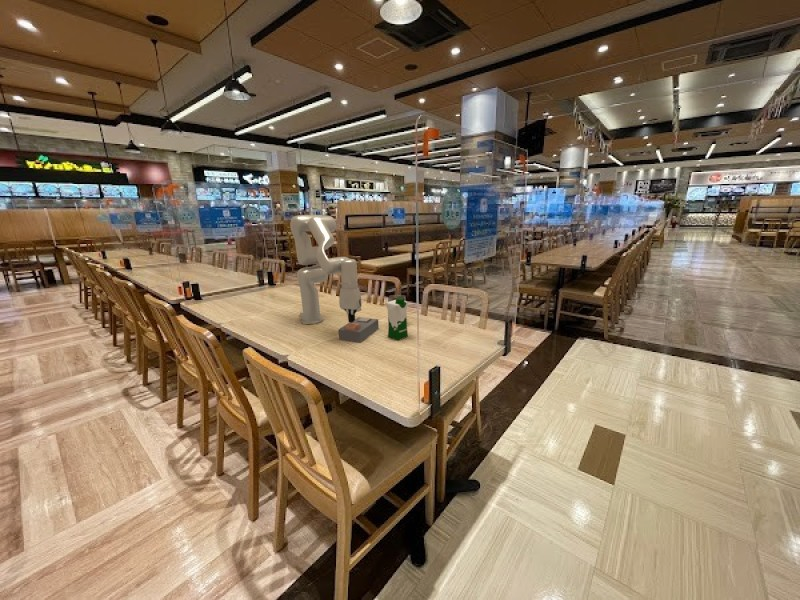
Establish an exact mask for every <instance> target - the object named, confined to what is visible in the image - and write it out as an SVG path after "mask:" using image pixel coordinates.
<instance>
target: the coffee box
mask: <svg viewBox="0 0 800 600" xmlns="http://www.w3.org/2000/svg"><path fill="white" fill-rule="evenodd" d="M396 298H404V301H406V295H405V294H395V295H393V294H391V295H389V296H388V298H387V299H388V301H387V302H390V301H393V300H396ZM406 302H407V301H406Z"/></svg>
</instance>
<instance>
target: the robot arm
mask: <svg viewBox="0 0 800 600" xmlns="http://www.w3.org/2000/svg"><path fill="white" fill-rule="evenodd" d="M289 225H290V231H291V234H292V236H293V239H294V245H295V250H296V258H297V262H298V264H299V265H300V266H301V265H302V266H306V267H303V268H300V269H298V271H297V273H296V278H297V281H298V285H299V290H300V297H301V298H300V300H301V305H302V307H301V309H302V312H300V313H299V315H298V317H299V318H301V320H300V322H301V324H303V325H317V324H320V323H322V322H323V321H324V317H323V316H321V308H320V300H319V299H320V298H319V297H320V296H319V291H318V288H317V287H316V286H315V285H314V284H319V283H322V282H326V281H327V280H328V278H329V275H335V274H340V276H341V277H340V278H341V279H340V282H339V286H341V287H340V289H339V296H338V297H339V299H338V302H339V303H338V304H339V307H340V310H343V311H345V312H346V315H347V320H348V323H350V322H351V323H352V322H354V321H355V319H356V314H357V312H361V311H362V308H361V307H362V295H361V291H360V287H358V285H359V284H358V266H357V260H356V259H354V258H350V257H347V256H338V257H331V258H330V257H328V256H327V253H326V250H328V249H329V248H330V247H332V246H333V245H334V244H335V237H334V236H333V234H332V233H334V232H335V231H336V230H337V222H336V219H335V218H334V217H333V216H331V215H323V214H300V215H295V216H293V217H292V218H291V220H290V224H289ZM307 232H310V233H311V235H312V237H313V238H314V239H315V241H316V243H317V245H318V246H313V245H312V240H311V237H310V235H309V234H308V233H307ZM309 265H314V266H309ZM307 266H308V267H307Z"/></svg>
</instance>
